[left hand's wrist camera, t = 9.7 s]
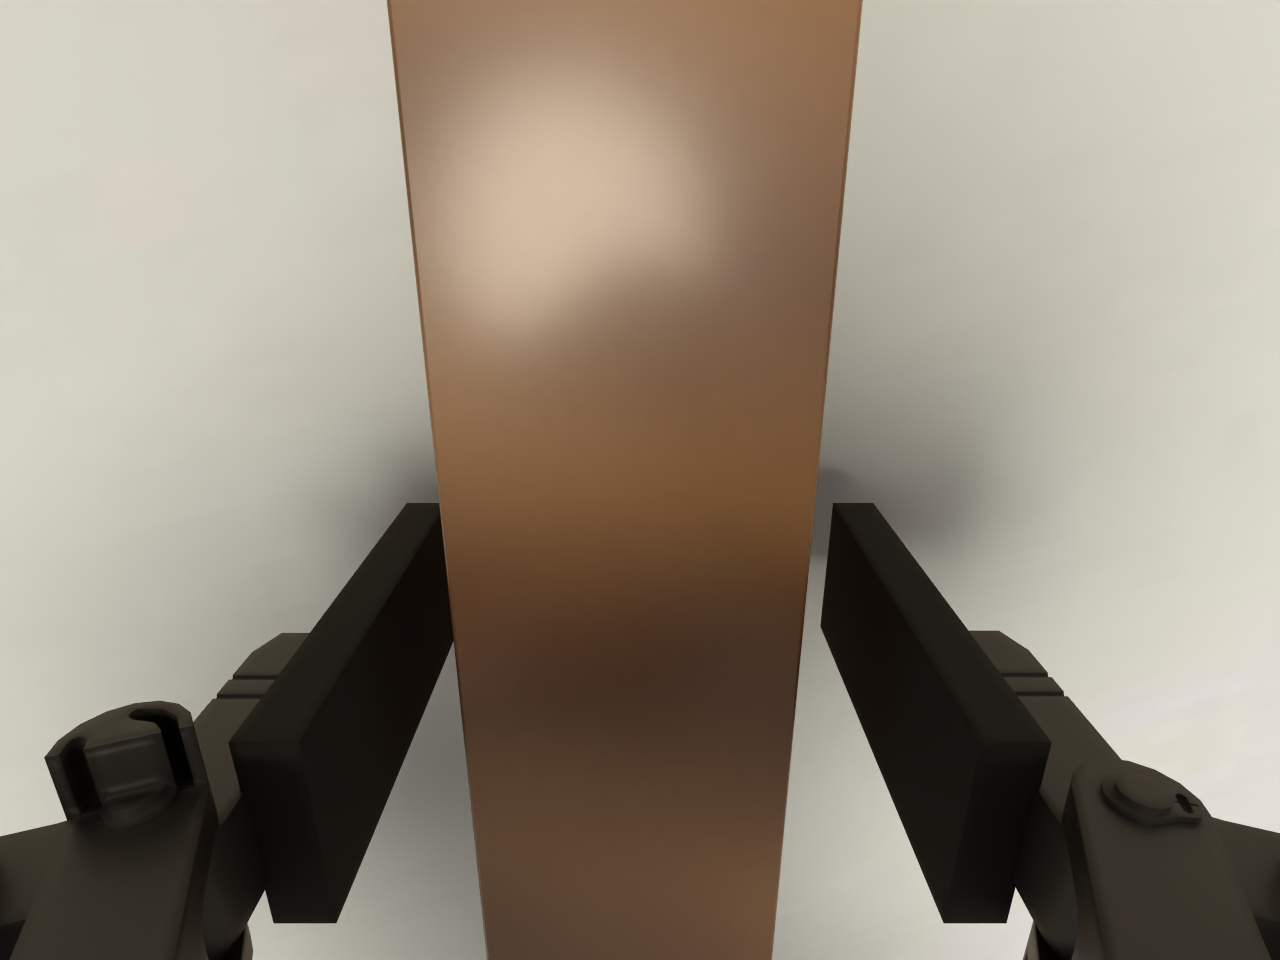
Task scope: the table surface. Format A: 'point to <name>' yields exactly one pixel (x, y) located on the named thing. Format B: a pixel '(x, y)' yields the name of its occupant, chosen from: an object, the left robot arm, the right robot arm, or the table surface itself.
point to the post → (626, 439)
